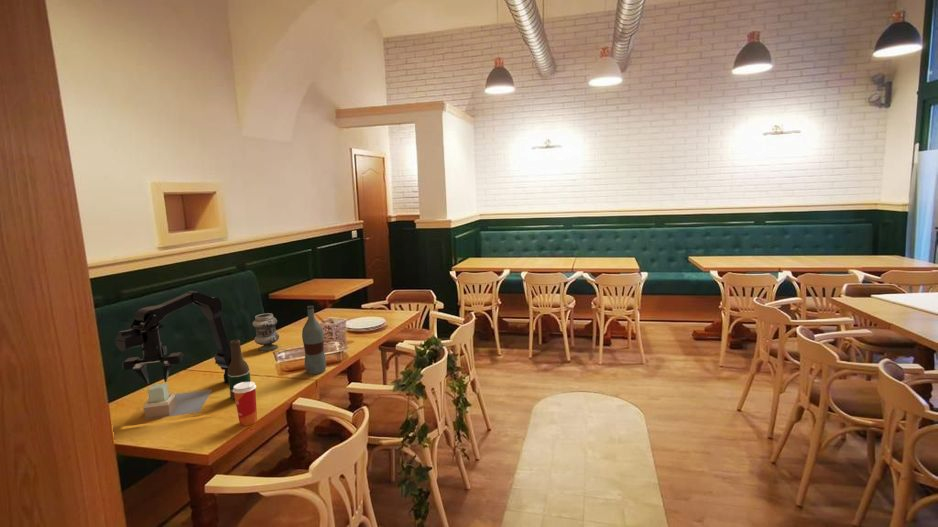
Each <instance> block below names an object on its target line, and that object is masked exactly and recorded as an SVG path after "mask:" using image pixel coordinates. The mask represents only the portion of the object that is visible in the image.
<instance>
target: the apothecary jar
mask: <svg viewBox="0 0 938 527" xmlns="http://www.w3.org/2000/svg"><path fill="white" fill-rule="evenodd" d="M277 324H278V320H277V318H276V317H275V316H274V314H273V313H269V312H267V313H261V314H257V315H255V317H254V321H252V326H253V327H254V328H255V333H256V336H255V337H254V338H253V339H254V342H255V343H256V345H260V347H258V348H257V351H258V352H259V353H260V352H263V353H264V352H270V351H271V352H272V351H275V350H277V349H278V348H279V346H278V345H277V344H275V343H276V342H277V341H279V339H280V335H279V333H278V332H277V329H276V325H277Z"/></svg>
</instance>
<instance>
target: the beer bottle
mask: <svg viewBox="0 0 938 527" xmlns="http://www.w3.org/2000/svg"><path fill="white" fill-rule="evenodd" d="M229 344H230V347H231V363H230V365H229V367H228V380H229V383H228V388H229V394H230V399H231V400H233V401H235V396H234V392H233V387H234V386H235V385H236V384H238V383H241V382H250V381H251V373H250V368H249V364H248V363H247V361H246V360H245V359H244V358H243V353H242V346H241V341H240V339H233V340H230V342H229ZM251 382H252V381H251Z"/></svg>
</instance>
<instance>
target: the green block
mask: <svg viewBox="0 0 938 527" xmlns="http://www.w3.org/2000/svg"><path fill="white" fill-rule="evenodd" d="M168 385H169V384H168V383H167V382H165V383H160V384H158V383H157V384H152V385H151V386H150V387H149V388H148V389H147V395H148V399H149V402H150V403H156V402H164V401H167V400H168V398H169V394H170V393H169V392H170V391H169V386H168Z"/></svg>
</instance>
